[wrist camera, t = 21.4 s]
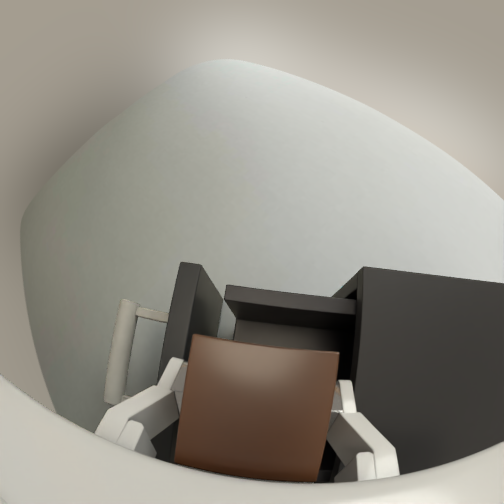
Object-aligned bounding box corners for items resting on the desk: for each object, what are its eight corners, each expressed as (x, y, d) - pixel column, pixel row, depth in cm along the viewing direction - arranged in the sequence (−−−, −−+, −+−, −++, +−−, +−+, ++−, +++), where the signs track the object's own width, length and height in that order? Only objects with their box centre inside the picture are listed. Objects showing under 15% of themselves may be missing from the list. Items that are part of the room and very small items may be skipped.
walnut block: (217, 413, 13) (173, 463, 6) (228, 345, 14) (192, 332, 7) (289, 422, 13) (316, 482, 5) (300, 355, 14) (340, 351, 7)
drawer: (134, 416, 18) (75, 436, 10) (156, 287, 22) (107, 250, 14) (354, 449, 16) (399, 486, 9) (372, 315, 21) (426, 290, 13)
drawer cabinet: (299, 451, 17) (325, 511, 8) (320, 306, 22) (363, 266, 12) (442, 438, 16) (512, 456, 7) (456, 315, 21) (528, 286, 11)
